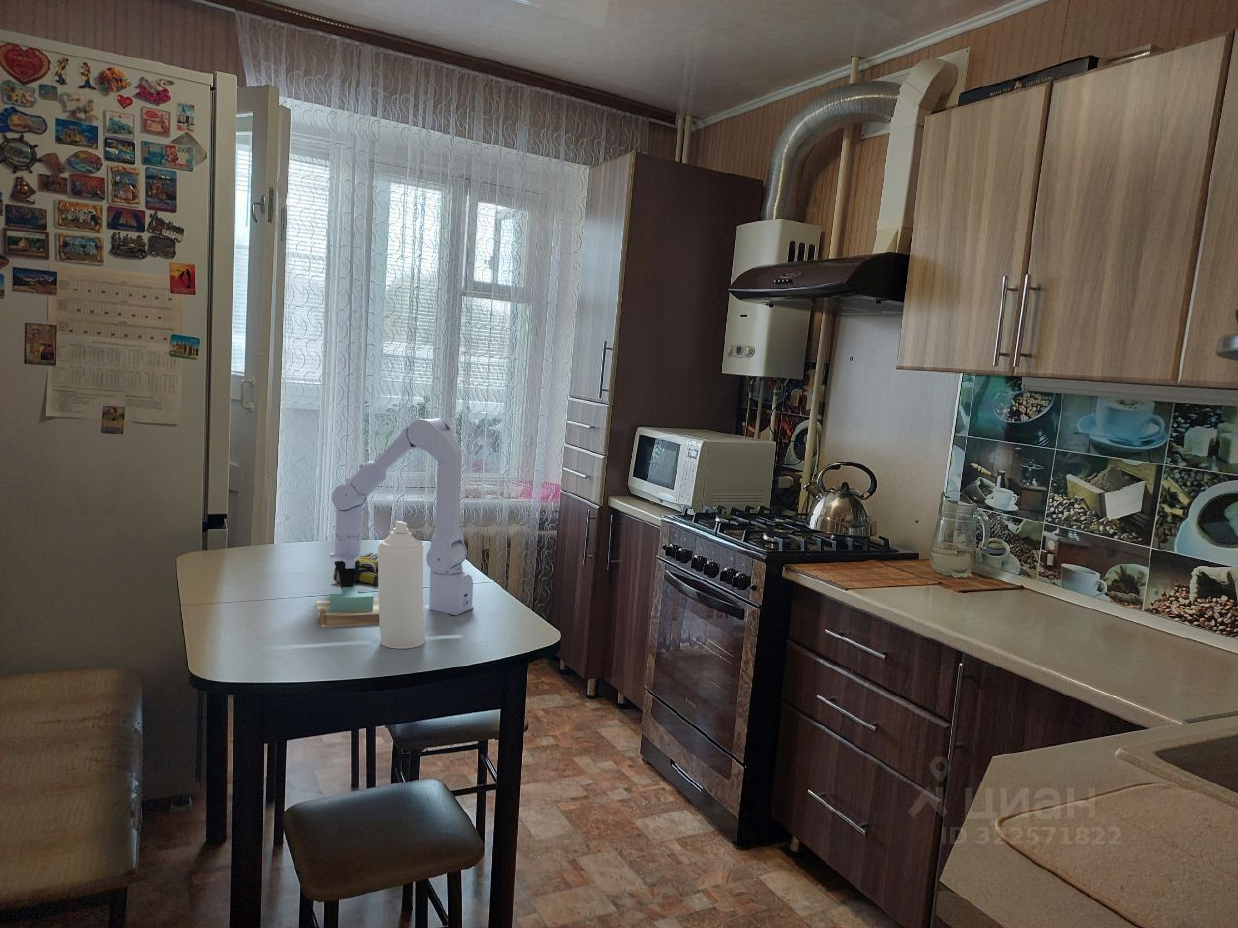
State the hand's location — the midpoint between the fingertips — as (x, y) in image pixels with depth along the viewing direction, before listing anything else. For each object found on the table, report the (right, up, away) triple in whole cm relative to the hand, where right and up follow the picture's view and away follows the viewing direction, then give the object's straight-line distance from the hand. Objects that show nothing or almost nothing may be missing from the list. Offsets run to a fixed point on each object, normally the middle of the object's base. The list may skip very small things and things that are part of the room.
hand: (346, 591), depth 193 cm
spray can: (+21, -6, -31) cm, 38 cm away
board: (+6, -3, -13) cm, 15 cm away
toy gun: (+1, 0, +22) cm, 22 cm away
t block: (+4, -2, -8) cm, 9 cm away
